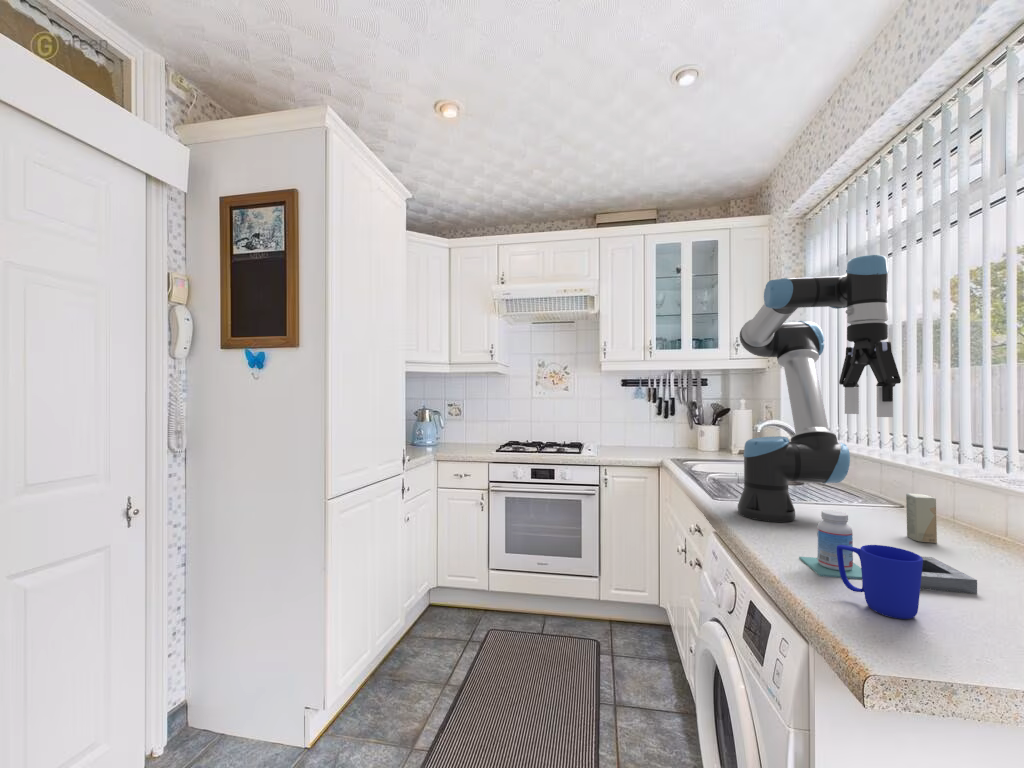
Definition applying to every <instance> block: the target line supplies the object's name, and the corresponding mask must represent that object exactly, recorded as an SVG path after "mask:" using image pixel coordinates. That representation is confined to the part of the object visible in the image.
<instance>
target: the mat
mask: <svg viewBox="0 0 1024 768" xmlns="http://www.w3.org/2000/svg"><path fill="white" fill-rule="evenodd" d="M798 558H799V560H800V561H802V562H803V563H804V564H805V565H806V566H808V567H809V568H810V569H811V570H813V572H815V573H816V574H817V575H818V576H819V577H827V578H828V577H829V578H840V579H841V576H840V572H839V570H833V569H829V568H826V567H823V566H822V565H820V564H819V563H818V557H812V556H811V557H810V556H798ZM845 573H846V576H847V579H855V580H862V570H861V566H859V565H858V564H856V563H854V562H853V568H852V569H851V570H849V571H845Z"/></svg>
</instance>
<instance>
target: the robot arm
mask: <svg viewBox="0 0 1024 768" xmlns="http://www.w3.org/2000/svg"><path fill="white" fill-rule="evenodd" d="M887 260H888V259H887V257H886V256H884V255H882V254H868V255H867V254H866V255H861V256H857V257H853V258H851V259H849V260H848V262H847V263H846V270H845V273H846V274H844V275H839V276H838V275H836V276H820V277H819V276H817V277H796V278H795V277H792V278H791V277H790V278H789V277H788V278H787V277H782V278H778V279H770V280H769V281H768V282H767V283H765V288H764V291H763V302H764V304H763V305H761V307H760V308H759V310H758V311H757V313H756V314H755V315H754V316H753V318H751V319H749V320H747V321H746V322H745V323H744V324H743V325H742V327H741V328H740V331H739V342H740V344H741V346H742V347H743V348H744V349H745V350H746V351H747V352H749V353H750V354H752V355H753V356H754V355H755V356H756V357H757V356H758V357H763V358H776V359H777V364H778V365H779V366H781V367H783V369H784V375H785V380H786V386H787V391H788V396H789V397H788V398H789V404H790V409H791V414H792V421H793V427H794V432H795V433H794V434H793V435H792V436H791V437H790V440H789V438H788V437H787V436H780V435H779V436H763V437H761V436H759V437H754V438H749V439H748V440H746V441H745V443H744V447H743V449H744V450H743V467H744V468H743V473H744V474H743V481H744V482H743V483H744V485H743V490H742V492H741V496H740V498H739V501H738V503H737V513H738V515H740V516H743V517H745V518H748V519H752V520H757V521H761V522H762V521H763V522H772V523H788V522H794V521H795V520H796V509H795V507H794V504H793V501H792V498H791V495H790V492H789V482H794V483H795V482H797V483H799V482H800V483H814V484H815V483H818V484H839V483H842V482H843V481H844V479H846V477H847V475H848V473H849V469H850V464H851V455H850V454H851V453H850V449H849V448H848V446H847V444H845V443H843V442H838V437H837V434H836V433H834V432H832V430H831V431H830V429H829V424H828V421H827V415H826V410H825V405H824V401H823V395H822V390H821V387H820V381H819V376H818V372H817V371H818V370H817V366H816V362H817V361H818V360H819V358H820V356H821V355H822V353H824V349H825V344H824V342H825V337H824V333H823V331H822V328H821V327H820V325H818V323H815V322H813V321H803V320H799V321H787V320H788V319H789V318H790V317H791V316H792V315H793V313H795V312H796V311H797V309H798V308H800V309H801V308H827V307H828V308H829V307H830V308H832V309H834V310H835V309H845V308H846V311H845V314H846V316H847V317H846V319H847V320H846V321H847V323H848V324H849V325H848V326H846V340H847V341H848V342H851V343H854V344H853V346H846V348H845V356H844V357H845V358H844V360H843V364H842V365H843V366H842V368H841V374H840V378H839V381H838V382H839V385H842V387H843V388H844V414H845V415H859V413H860V412H859V411H860V410H859V408H860V407H859V404H860V403H859V402H860V401H859V400H860V399H859V397H860V396H859V392H860V391H859V387H860V385H859V384H858V383H859V380H860V378H861V376H862V373H863V371H864V370H865V367H867V366H869V367H870V370H871V371H872V373H873V375H874V377H875V379H876V381H877V383H876V385H875V386H876V417H877V418H894V387H895V386H896V384H901V383H902V379H901V377H900V374H899V370H898V367H897V364H896V362H895V358H894V355H893V351H892V342H891V341H885V340H888V337H889V329H888V328H889V325H888V324H887V323H885V322H887V321H888V320H889V304H888V296H889V295H888V287H889V286H888V285H889V269H888V261H887ZM786 321H787V322H786Z"/></svg>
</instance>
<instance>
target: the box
mask: <svg viewBox="0 0 1024 768" xmlns="http://www.w3.org/2000/svg"><path fill="white" fill-rule="evenodd" d="M905 500H906V501H905V503H906V507H905V508H906V536H907V537H908V538H910V539H912V540H913V541H915V542H919V543H920V542H923V543H933V544H937V543H938V536H937V535H938V532H937V530H938V529H937V528H938V527H937V498H936V497H933V496H930V495H927V494H924V493H923V494H921V493H910V492H909V493H906V494H905Z"/></svg>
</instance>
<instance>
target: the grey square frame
mask: <svg viewBox="0 0 1024 768" xmlns="http://www.w3.org/2000/svg"><path fill="white" fill-rule="evenodd" d="M920 556H921V557H922V558H923V566H922V576H921V586H920V590H923V591H925V590H926V591H937V592H952V593H953V592H954V593H964V594H966V593H967V594H976V595H977V594H978V579H976V578H974V577H972V576H970V575H969V574H966V573H964V572H962V571H960V570H958V569H956V568H954V567H952V566H950V565H949V564H946V563H944V562H942V561H940V560H938V559H936V558H934V557H932V556H922V555H920Z"/></svg>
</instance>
